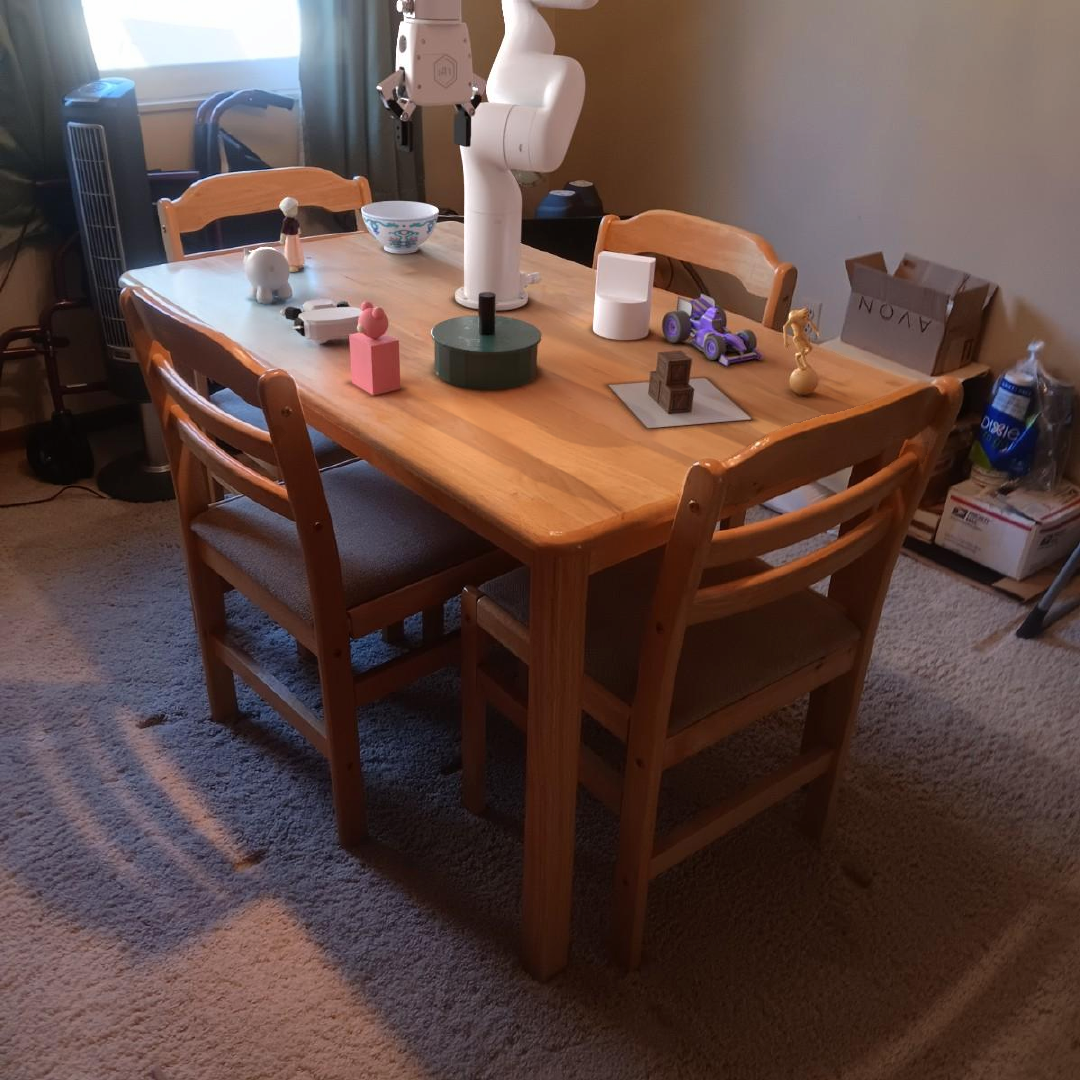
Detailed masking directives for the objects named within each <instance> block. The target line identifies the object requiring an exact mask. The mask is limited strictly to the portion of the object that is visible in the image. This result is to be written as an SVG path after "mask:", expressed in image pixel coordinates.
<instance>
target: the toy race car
mask: <svg viewBox="0 0 1080 1080" xmlns="http://www.w3.org/2000/svg"><path fill="white" fill-rule="evenodd" d="M727 324H728V319H727V314H726V311H725V309H724V308H723V307H722V306H721V305H719V304H717V301H716V299H715V298H713V297H712V296H708V295H706V294H705V293H703V292H701V293H700V297H698V298H694V299H689V300H688V299H685V298H683V297H681V296H678V297H677V304H676V310H673V311H668V312H665V314H664V315H663V318H662V322H661V330H662V334H663V336H664V338H665V340H666V341H668V342H669V343H671V344H675V343H681V342H686V341H687V340H688V339H689V338H690V336H691V337H693V338H692V339H690V344H692V345H693V346H694V347H695V348H697V350H699V351H701V352H702V353H704V355H705V357H706V358H707V359H708V360H710V361H716V360H717V361H718V362H719V363H720V364H722V365H724V366H726V367H729V366H730V364H733V363H737V362H742V361H747V360H748V361H749V360H753V359H756V360H757V361H761V359H762V355H763V354H762V353H761V352H760V351H759V350H758V349H757V344H758V342H757V341H758V340H757V336H756V334H755V332H754V331H753V330H751V329H748V328H747V329H741V330H738V331H737V332H736V333H732V331H731V330H730V329H729V328H727ZM726 352H737V353H738V354H739V355H734V356H726Z"/></svg>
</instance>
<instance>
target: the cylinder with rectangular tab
mask: <svg viewBox="0 0 1080 1080" xmlns="http://www.w3.org/2000/svg"><path fill="white" fill-rule="evenodd" d="M596 266H597V267H596V281H595V294H594V308H593V321H592V322H593V323H592V330H593V332H594V333H595V334H596V335H598V336H599V337H602V338H605V339H610V340H616V341H635V340H640V339H644V338H645V337H647V336H648V334H649V329H650V321H651V309H652V299H653V289H654V279H655V271H656V257H652V256H651V257H650V256H643V255H636V254H630V253H629V254H628V253H621V252H616V251H615V252H614V251H607V250H603V251H601V252H599V253H598V254H597V265H596Z"/></svg>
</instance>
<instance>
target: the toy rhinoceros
mask: <svg viewBox="0 0 1080 1080" xmlns="http://www.w3.org/2000/svg"><path fill="white" fill-rule="evenodd" d="M243 254H244V257H243V263H242V264H243V271H244V273H245V276H246V279H247V281H248V282H249V283H250V288H249V297H250V298H251V299H254V300H256V301H257V303H259V304H271V303H272V302H273V301H274V297H277V298H278V299H279V300H285V301H286V300H290V299H292V297H293V289H292V287H291V284H290V283H289V278H290V274H291V272H290V268H289V264H288V261H287V259H286V258H285V254H283V253H282V252H281V251H279V250H277V249H275V248H273V247H268V246H265V247H264V246H263V245H261V246H260V247H259V248H257V249H254V250H249V249H248V248H246V247H244V248H243Z"/></svg>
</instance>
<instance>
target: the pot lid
mask: <svg viewBox="0 0 1080 1080" xmlns="http://www.w3.org/2000/svg"><path fill="white" fill-rule="evenodd" d="M477 310H478V311H477V313H478V314H476V315H464V316H463V315H462V316H457V317H452V318H448V319H445V320H443V321H440V322H439V323H437V324H435V325H434V326H433V327H432V328H431V331H430V334H431V335H430V337H431V339H432V340H433V341H435V342H436V343H437V344H438V345H440V346H442V347H444V348H447V349H450V350H453V351H457V352H461V353H467V354H475V355H506V354H513V353H518V352H523V351H526V350H529V349H531V348H533V347H535V346H536V345H538V346H539V344H540V343H541V341H542V332H541V330H540V329H539V328H538V327H537V326H535V325H533V324H532V323H530V322H527V321H525V320H521V319H518V318H514V317H508V316H503V315H496V311H495V310H496V294H494V293H491V292H482V293H479V298H478V309H477Z"/></svg>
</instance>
